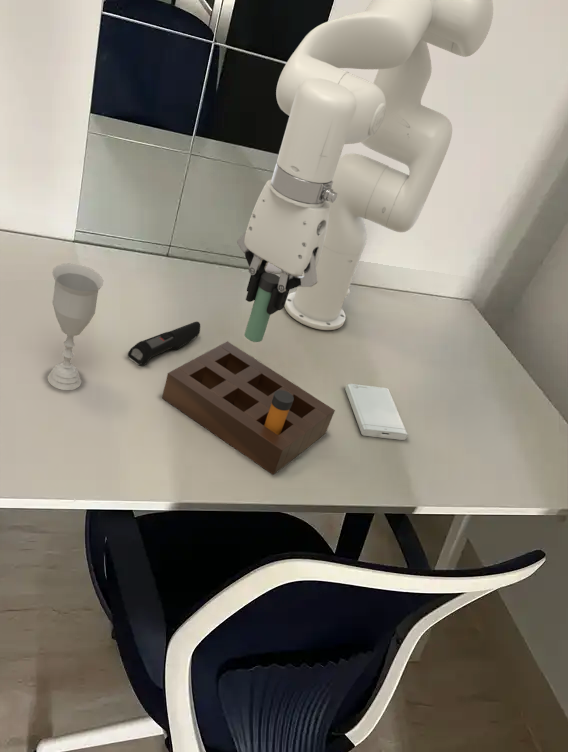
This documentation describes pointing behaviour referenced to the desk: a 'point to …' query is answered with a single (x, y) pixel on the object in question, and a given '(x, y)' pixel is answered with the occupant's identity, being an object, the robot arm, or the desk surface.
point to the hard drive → (376, 412)
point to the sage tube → (261, 307)
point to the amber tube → (278, 411)
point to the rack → (246, 405)
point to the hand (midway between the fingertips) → (263, 303)
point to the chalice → (72, 315)
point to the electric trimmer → (163, 343)
